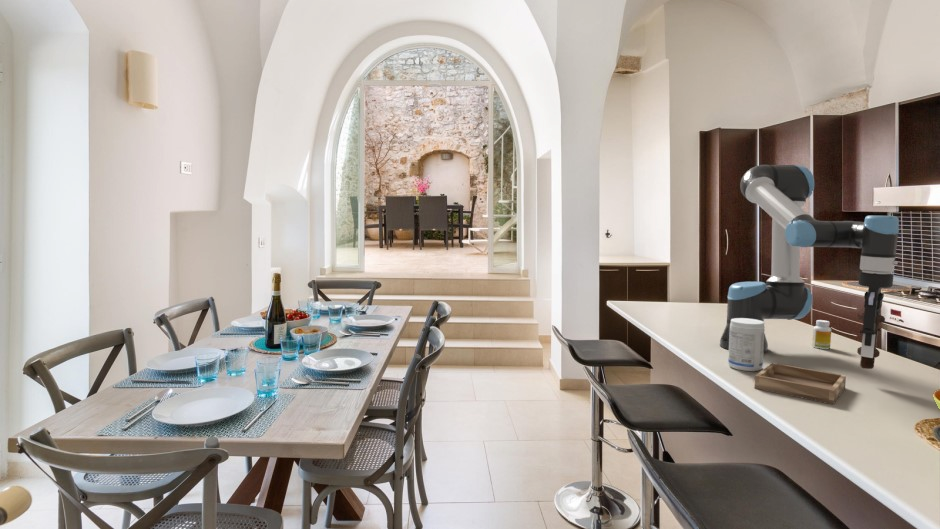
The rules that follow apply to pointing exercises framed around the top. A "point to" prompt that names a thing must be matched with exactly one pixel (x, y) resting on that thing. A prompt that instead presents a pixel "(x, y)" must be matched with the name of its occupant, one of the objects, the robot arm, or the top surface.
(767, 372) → the tray
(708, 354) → the top surface
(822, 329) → the supplement bottle
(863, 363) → the bolt
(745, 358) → the supplement tub
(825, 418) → the top surface
